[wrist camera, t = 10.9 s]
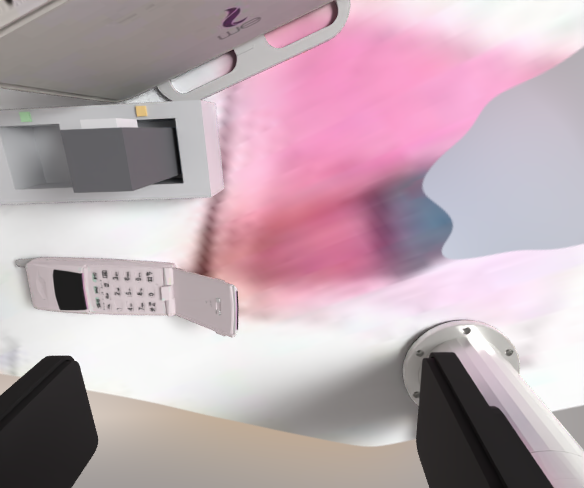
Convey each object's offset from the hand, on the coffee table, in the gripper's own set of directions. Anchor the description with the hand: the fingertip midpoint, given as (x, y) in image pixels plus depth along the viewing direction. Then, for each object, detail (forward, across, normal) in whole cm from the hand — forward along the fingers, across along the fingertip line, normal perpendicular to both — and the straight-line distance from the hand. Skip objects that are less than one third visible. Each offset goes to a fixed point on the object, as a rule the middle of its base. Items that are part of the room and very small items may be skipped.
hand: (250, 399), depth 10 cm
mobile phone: (+29, +18, +8) cm, 35 cm away
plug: (+27, +12, -6) cm, 30 cm away
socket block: (+28, +17, -6) cm, 33 cm away
